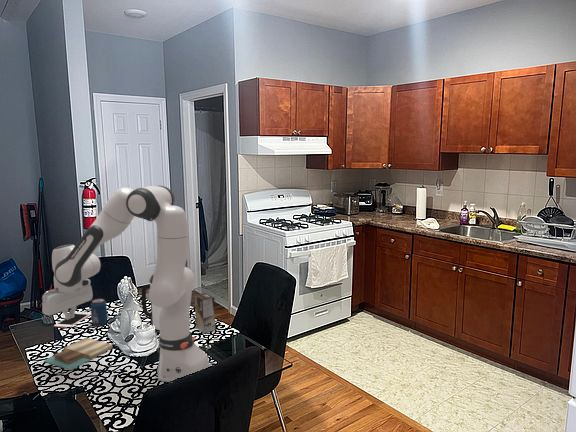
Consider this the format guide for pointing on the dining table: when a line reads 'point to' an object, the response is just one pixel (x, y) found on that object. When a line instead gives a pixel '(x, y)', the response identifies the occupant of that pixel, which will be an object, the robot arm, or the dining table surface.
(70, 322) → the cell phone
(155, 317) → the coffee press
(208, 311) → the coffee box
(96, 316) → the soda can
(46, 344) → the dining table surface
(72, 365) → the mat
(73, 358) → the tile
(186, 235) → the robot arm
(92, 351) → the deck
